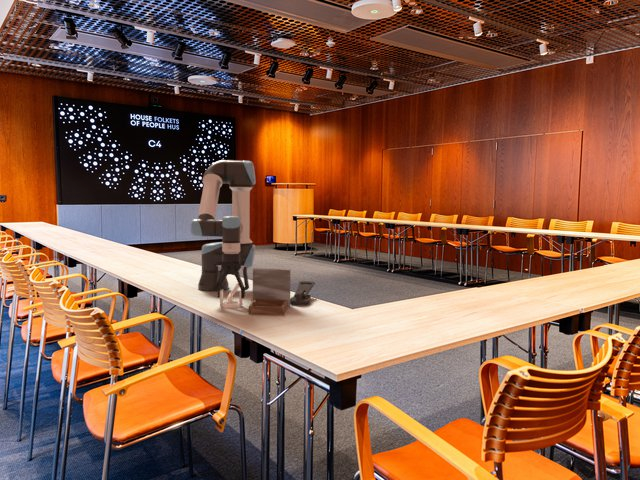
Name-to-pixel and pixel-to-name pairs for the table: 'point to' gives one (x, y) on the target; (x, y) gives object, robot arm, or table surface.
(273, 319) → the table surface
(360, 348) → the table surface
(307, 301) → the zipper pull
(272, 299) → the open wooden box
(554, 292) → the table surface
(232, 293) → the pink door lever handle
